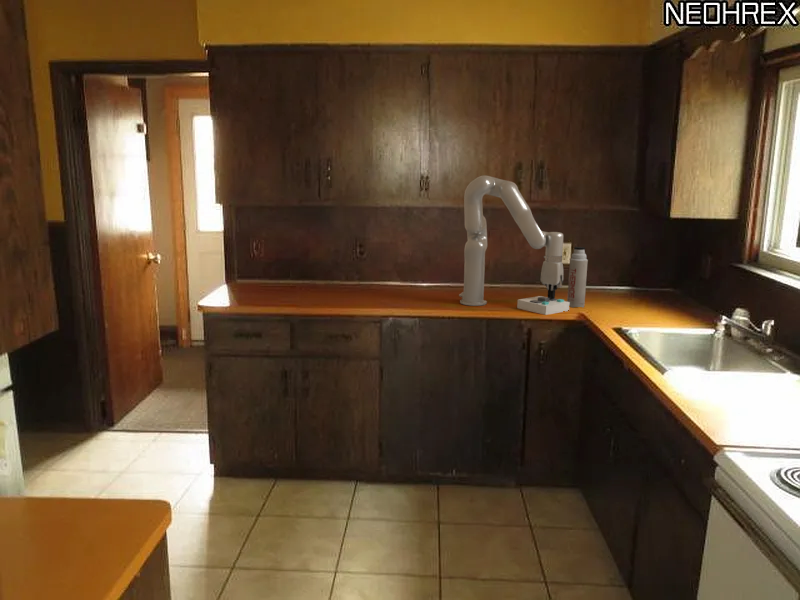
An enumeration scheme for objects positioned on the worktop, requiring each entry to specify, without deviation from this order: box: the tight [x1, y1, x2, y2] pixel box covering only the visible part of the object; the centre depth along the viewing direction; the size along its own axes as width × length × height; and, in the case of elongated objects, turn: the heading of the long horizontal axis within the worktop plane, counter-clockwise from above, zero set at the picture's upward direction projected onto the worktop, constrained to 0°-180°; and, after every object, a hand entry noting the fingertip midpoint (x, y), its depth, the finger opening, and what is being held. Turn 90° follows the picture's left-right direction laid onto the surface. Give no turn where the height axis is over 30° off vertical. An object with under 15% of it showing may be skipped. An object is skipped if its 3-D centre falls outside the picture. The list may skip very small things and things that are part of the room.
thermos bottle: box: [566, 246, 589, 308], centre depth 309 cm, size 8×8×28 cm
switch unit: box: [516, 295, 570, 316], centre depth 303 cm, size 17×16×5 cm
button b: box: [537, 296, 550, 302], centre depth 303 cm, size 4×3×4 cm
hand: (551, 298), depth 306 cm, fingers closed
